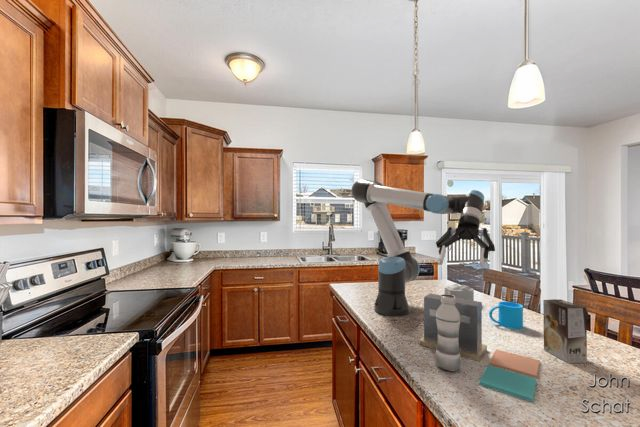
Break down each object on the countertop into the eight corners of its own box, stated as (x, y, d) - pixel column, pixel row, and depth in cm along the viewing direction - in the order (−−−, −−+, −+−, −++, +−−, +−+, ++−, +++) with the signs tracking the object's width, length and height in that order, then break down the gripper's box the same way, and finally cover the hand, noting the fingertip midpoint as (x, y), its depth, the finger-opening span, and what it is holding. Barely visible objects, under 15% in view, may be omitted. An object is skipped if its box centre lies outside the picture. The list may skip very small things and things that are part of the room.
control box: (419, 344, 99) (419, 297, 99) (429, 335, 106) (429, 291, 107) (479, 361, 87) (480, 308, 87) (486, 350, 95) (486, 301, 95)
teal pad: (478, 384, 75) (478, 381, 75) (487, 367, 84) (487, 364, 84) (532, 402, 68) (532, 398, 68) (536, 381, 77) (536, 378, 77)
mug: (515, 322, 121) (516, 301, 121) (527, 329, 113) (527, 308, 113) (484, 320, 122) (484, 300, 122) (494, 328, 114) (494, 306, 114)
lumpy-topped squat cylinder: (442, 300, 152) (442, 283, 152) (466, 299, 153) (466, 282, 154) (452, 306, 142) (453, 288, 142) (478, 305, 143) (479, 287, 143)
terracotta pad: (489, 365, 85) (489, 362, 85) (496, 351, 94) (496, 349, 94) (536, 378, 78) (536, 375, 78) (539, 362, 87) (539, 360, 87)
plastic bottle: (450, 376, 79) (450, 300, 79) (429, 365, 85) (430, 294, 85) (466, 371, 82) (466, 297, 82) (445, 360, 88) (446, 292, 88)
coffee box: (588, 363, 87) (588, 307, 87) (568, 363, 87) (568, 308, 87) (560, 349, 96) (560, 298, 96) (542, 349, 96) (542, 299, 96)
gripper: (506, 228, 115) (501, 273, 103) (439, 226, 130) (428, 265, 118) (504, 214, 111) (498, 259, 99) (435, 214, 126) (423, 253, 114)
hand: (460, 262), depth 109 cm, fingers open, 13 cm apart
